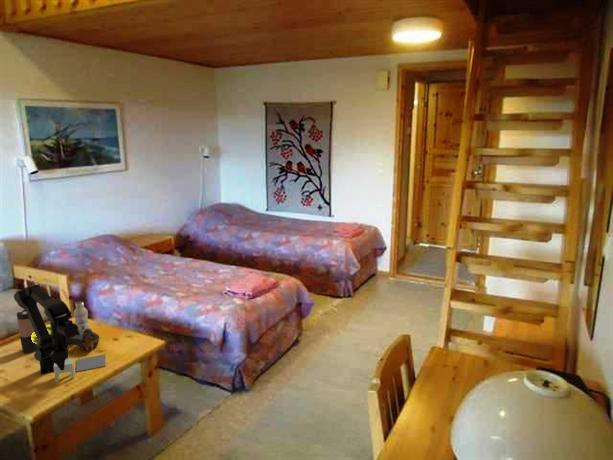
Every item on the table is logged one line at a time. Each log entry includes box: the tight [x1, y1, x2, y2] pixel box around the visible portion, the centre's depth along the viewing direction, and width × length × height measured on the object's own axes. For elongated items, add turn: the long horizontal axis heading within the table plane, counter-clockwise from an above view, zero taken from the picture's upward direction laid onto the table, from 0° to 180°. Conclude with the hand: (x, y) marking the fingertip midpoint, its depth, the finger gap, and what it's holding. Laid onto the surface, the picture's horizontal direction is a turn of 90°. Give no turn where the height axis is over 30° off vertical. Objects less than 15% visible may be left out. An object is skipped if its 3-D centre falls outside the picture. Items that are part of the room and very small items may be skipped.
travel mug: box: [16, 309, 37, 354], centre depth 216 cm, size 8×8×20 cm
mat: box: [75, 353, 107, 373], centre depth 205 cm, size 12×12×1 cm
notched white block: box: [53, 358, 76, 383], centre depth 192 cm, size 7×5×7 cm
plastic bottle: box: [72, 301, 89, 335], centre depth 227 cm, size 6×7×20 cm
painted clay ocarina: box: [79, 328, 100, 351], centre depth 220 cm, size 10×15×8 cm, turn 33°
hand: (63, 365), depth 192 cm, fingers open, 9 cm apart
